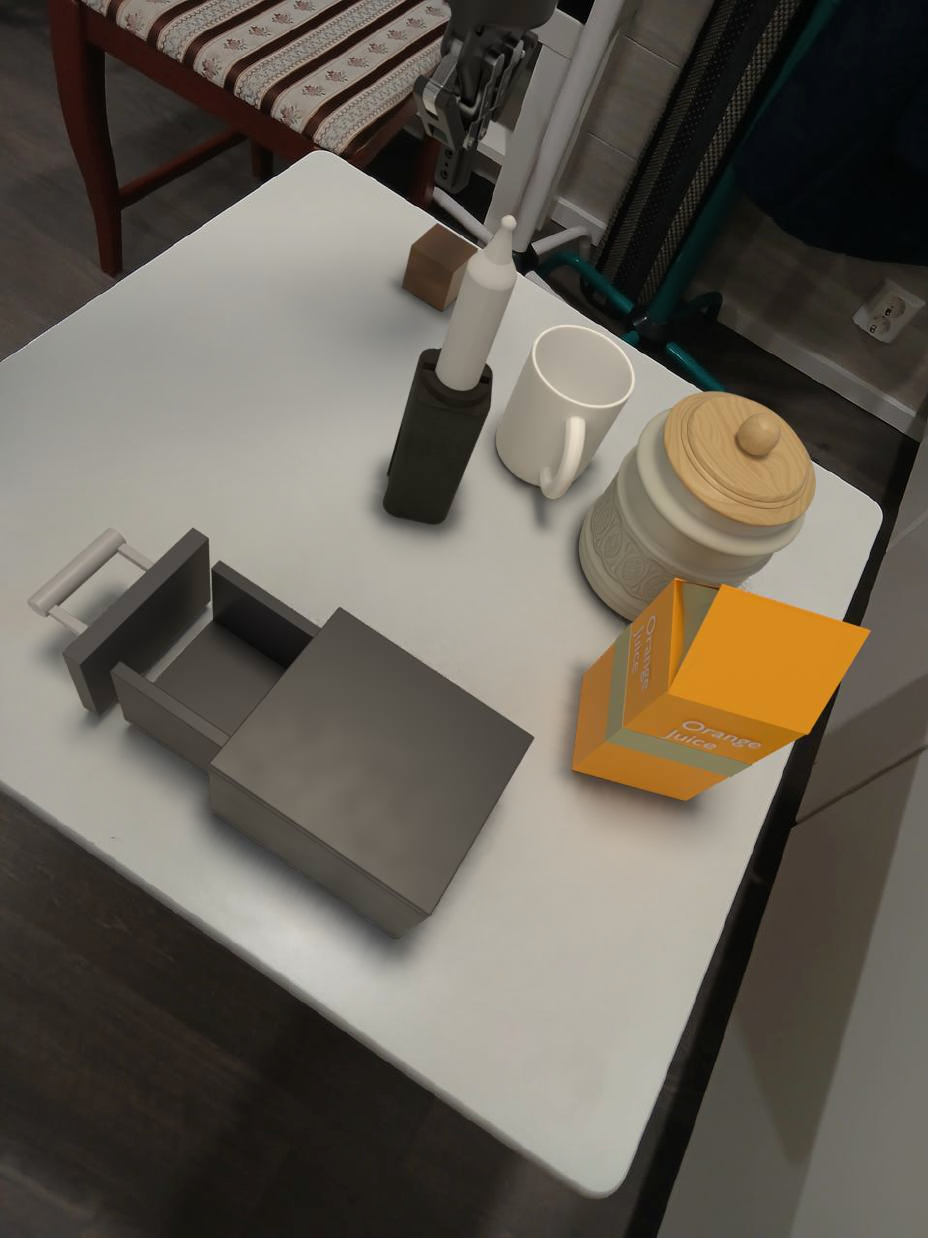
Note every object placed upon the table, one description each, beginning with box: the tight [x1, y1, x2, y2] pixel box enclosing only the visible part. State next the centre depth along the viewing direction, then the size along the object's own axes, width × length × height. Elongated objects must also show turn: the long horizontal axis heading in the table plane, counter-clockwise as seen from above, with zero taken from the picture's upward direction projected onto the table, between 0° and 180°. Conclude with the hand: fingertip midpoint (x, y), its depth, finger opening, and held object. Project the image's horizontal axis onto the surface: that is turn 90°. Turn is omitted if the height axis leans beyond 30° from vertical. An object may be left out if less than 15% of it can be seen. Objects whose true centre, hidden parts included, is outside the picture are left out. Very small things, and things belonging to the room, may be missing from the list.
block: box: [401, 222, 479, 313], centre depth 74 cm, size 4×4×4 cm
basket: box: [26, 527, 322, 778], centre depth 49 cm, size 17×10×8 cm, turn 59°
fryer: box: [208, 606, 535, 940], centre depth 48 cm, size 14×12×10 cm
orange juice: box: [571, 578, 872, 802], centre depth 51 cm, size 8×9×20 cm
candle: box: [382, 214, 518, 525], centre depth 54 cm, size 5×5×25 cm
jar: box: [578, 390, 817, 623], centre depth 60 cm, size 13×13×18 cm
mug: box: [495, 324, 636, 500], centre depth 64 cm, size 12×8×10 cm
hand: (449, 184), depth 61 cm, fingers closed
